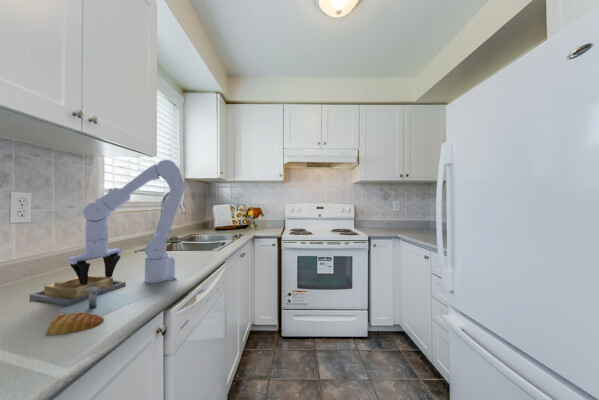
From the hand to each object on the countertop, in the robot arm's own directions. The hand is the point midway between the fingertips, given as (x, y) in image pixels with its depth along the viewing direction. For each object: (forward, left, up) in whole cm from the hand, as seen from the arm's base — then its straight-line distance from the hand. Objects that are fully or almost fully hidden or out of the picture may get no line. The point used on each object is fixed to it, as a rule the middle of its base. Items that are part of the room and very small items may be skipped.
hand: (96, 280), depth 79 cm
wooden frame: (+5, 0, -2) cm, 5 cm away
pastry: (+19, +21, -3) cm, 29 cm away
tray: (+4, 0, -3) cm, 5 cm away
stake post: (+12, +16, -3) cm, 20 cm away
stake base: (+8, +16, -3) cm, 18 cm away
